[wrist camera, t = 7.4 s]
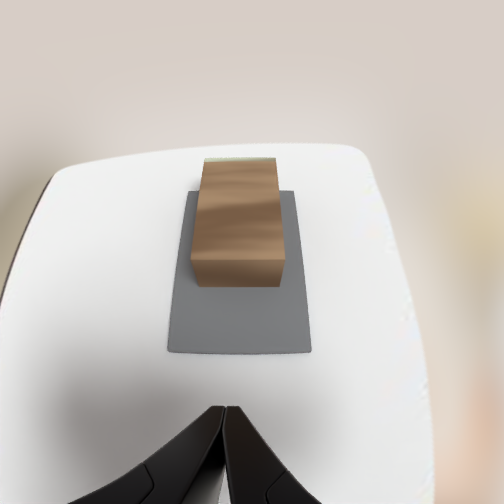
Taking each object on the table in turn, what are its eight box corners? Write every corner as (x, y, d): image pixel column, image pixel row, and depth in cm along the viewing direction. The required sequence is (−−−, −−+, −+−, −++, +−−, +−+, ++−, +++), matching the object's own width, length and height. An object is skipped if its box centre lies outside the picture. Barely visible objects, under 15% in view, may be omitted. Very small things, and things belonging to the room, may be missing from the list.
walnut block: (285, 259, 18) (275, 157, 24) (190, 259, 18) (204, 158, 24) (279, 287, 22) (272, 190, 27) (199, 287, 22) (209, 190, 27)
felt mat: (310, 352, 19) (311, 350, 19) (169, 352, 19) (167, 350, 19) (292, 194, 28) (293, 190, 27) (189, 194, 27) (188, 191, 27)
